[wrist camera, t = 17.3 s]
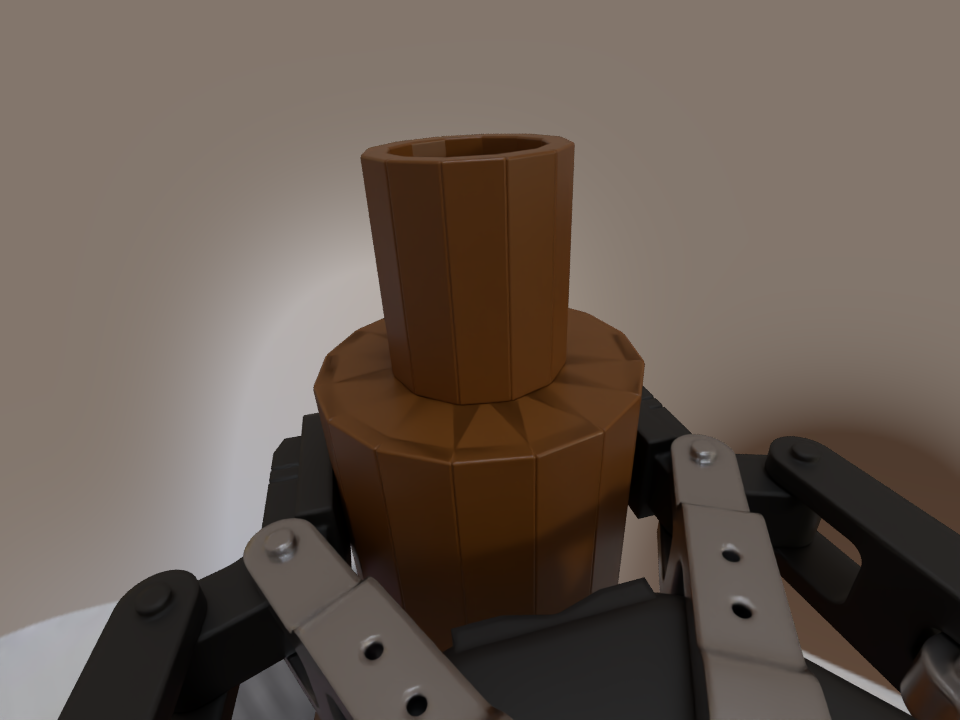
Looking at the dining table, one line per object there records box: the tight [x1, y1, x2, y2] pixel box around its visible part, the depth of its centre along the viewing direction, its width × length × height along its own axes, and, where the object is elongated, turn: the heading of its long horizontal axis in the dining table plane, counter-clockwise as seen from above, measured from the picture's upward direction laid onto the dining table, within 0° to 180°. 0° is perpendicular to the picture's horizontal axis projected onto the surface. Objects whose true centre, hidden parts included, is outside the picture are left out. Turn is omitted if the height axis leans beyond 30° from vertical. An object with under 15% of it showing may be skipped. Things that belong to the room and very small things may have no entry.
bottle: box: [313, 134, 645, 652], centre depth 13 cm, size 6×6×17 cm
